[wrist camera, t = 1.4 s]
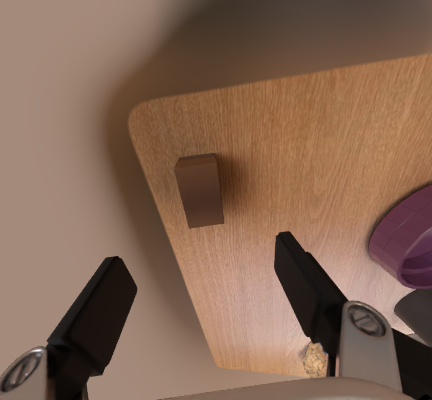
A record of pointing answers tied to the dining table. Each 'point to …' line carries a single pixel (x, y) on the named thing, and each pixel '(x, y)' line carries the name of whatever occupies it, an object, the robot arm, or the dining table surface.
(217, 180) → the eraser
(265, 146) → the dining table surface
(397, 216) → the bowl
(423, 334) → the vase
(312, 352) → the beige rock
